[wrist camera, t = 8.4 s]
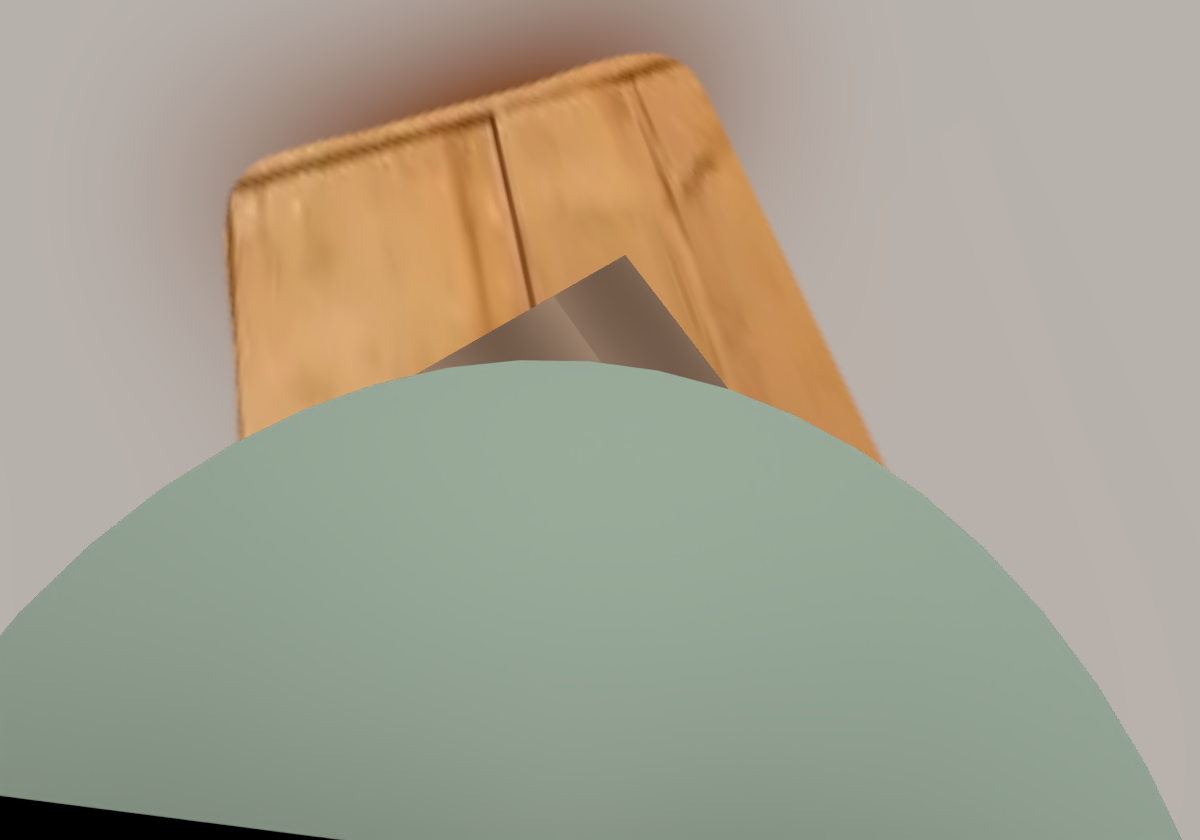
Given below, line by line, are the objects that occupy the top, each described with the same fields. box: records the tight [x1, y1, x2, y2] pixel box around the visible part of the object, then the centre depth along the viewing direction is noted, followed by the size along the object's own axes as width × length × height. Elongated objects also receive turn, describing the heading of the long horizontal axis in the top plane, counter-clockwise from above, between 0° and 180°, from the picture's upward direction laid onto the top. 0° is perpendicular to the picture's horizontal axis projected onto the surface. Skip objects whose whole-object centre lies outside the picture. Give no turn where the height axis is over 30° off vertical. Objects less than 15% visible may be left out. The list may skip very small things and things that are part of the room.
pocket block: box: [416, 255, 728, 389], centre depth 20 cm, size 12×12×4 cm
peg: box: [0, 360, 1182, 840], centre depth 8 cm, size 5×5×12 cm
